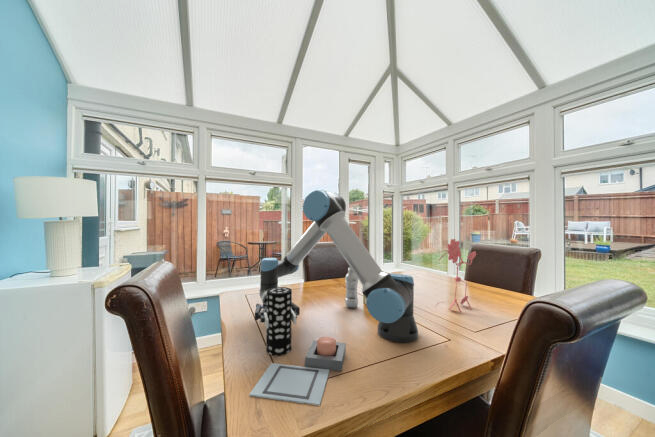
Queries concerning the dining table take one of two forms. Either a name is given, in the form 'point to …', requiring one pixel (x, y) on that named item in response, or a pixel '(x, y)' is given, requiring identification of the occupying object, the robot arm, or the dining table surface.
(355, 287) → the plastic bottle
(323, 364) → the button housing
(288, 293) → the white-spotted black cylinder
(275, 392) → the drawing pad
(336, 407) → the dining table surface
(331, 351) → the button
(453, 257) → the figurine
